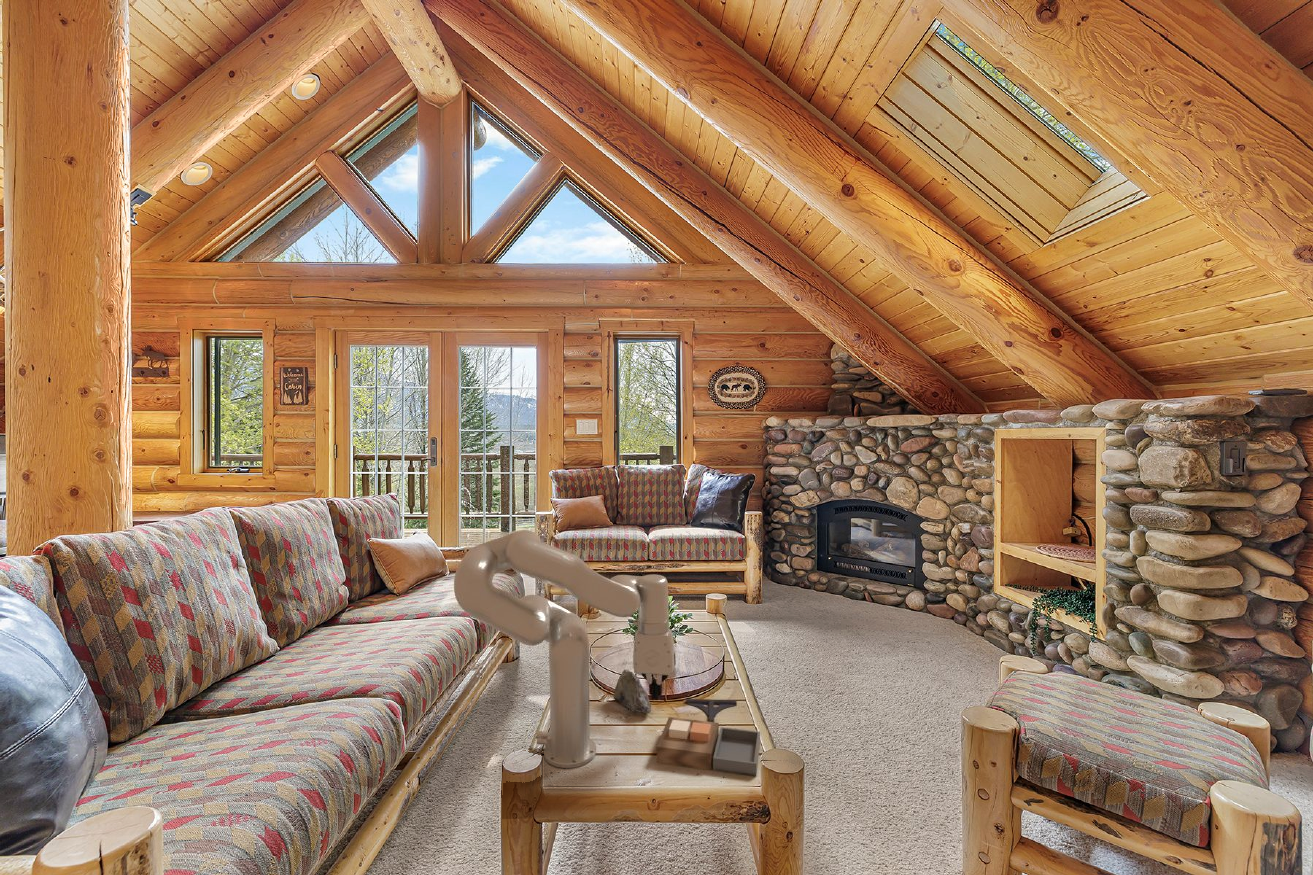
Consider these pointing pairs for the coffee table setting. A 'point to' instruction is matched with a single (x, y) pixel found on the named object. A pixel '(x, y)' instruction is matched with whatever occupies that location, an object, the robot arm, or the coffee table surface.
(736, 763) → the box
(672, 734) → the cream tile
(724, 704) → the bracket
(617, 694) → the mineral rock
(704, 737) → the terracotta tile
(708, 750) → the tan square panel
